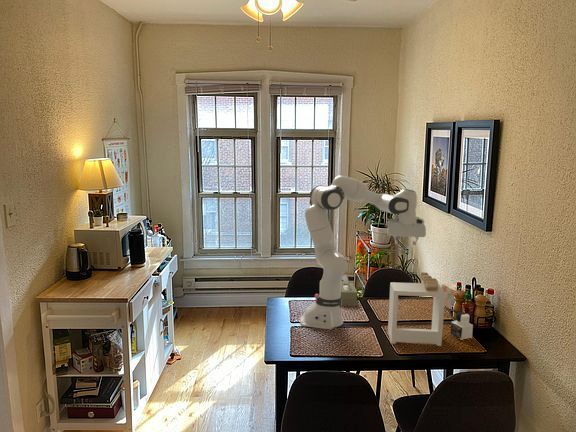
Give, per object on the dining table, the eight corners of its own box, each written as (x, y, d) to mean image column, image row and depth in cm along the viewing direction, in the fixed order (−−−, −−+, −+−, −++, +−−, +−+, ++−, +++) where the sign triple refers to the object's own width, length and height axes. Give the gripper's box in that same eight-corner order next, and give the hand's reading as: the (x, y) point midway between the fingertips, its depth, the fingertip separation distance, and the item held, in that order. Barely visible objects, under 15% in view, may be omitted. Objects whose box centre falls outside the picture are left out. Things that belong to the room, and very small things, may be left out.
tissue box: (336, 294, 278) (337, 269, 275) (352, 294, 278) (353, 269, 275) (340, 305, 260) (340, 279, 257) (357, 305, 259) (357, 279, 257)
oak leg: (437, 291, 208) (438, 281, 207) (426, 290, 208) (427, 281, 207) (428, 278, 226) (429, 269, 225) (418, 278, 227) (419, 269, 226)
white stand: (391, 343, 212) (393, 290, 208) (387, 332, 224) (390, 282, 220) (441, 345, 210) (445, 292, 206) (435, 334, 222) (438, 283, 218)
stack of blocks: (431, 298, 272) (432, 278, 270) (440, 297, 274) (441, 278, 271) (453, 311, 252) (455, 290, 250) (463, 310, 253) (464, 289, 251)
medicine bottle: (450, 335, 222) (451, 312, 220) (461, 332, 225) (463, 309, 222) (460, 341, 215) (462, 317, 213) (472, 338, 218) (474, 315, 216)
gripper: (388, 219, 239) (386, 245, 241) (427, 220, 237) (425, 246, 240) (386, 217, 245) (385, 242, 248) (424, 218, 244) (423, 243, 246)
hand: (405, 244), depth 244 cm, fingers open, 8 cm apart
